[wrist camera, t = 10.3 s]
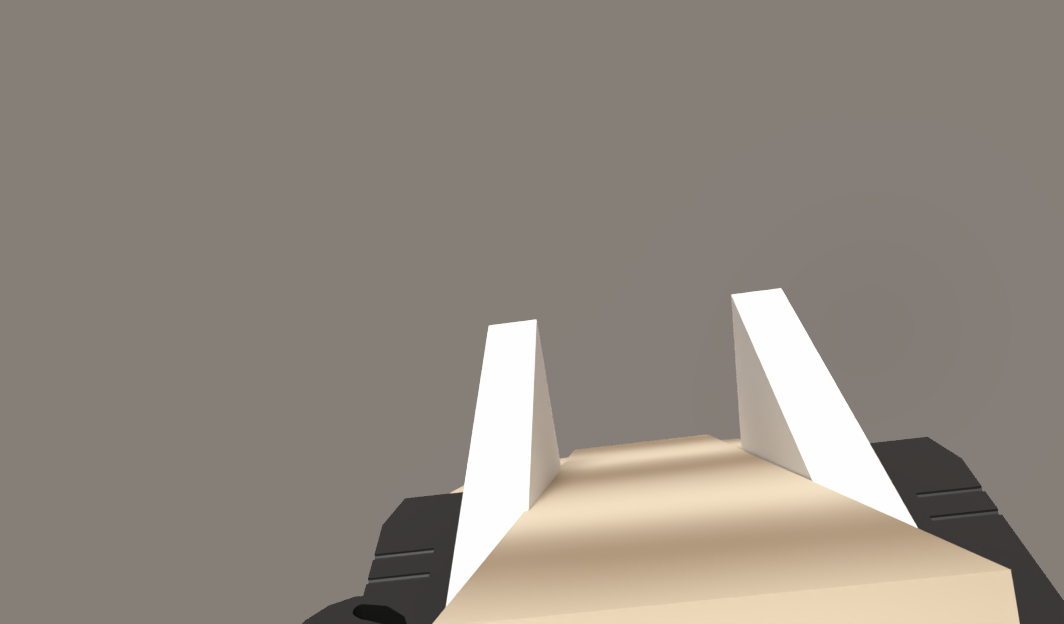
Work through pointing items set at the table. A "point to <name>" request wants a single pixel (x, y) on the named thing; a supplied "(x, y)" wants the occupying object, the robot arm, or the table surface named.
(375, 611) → the robot arm
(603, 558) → the cream cross-shaped block
